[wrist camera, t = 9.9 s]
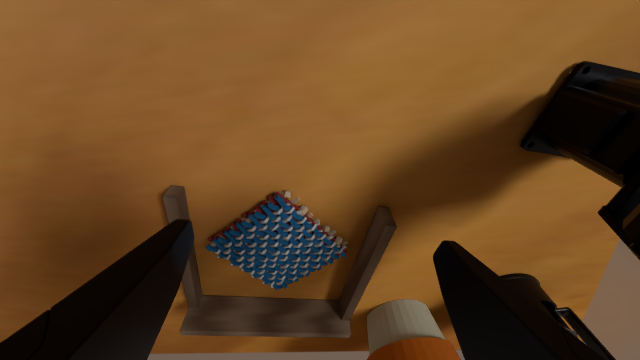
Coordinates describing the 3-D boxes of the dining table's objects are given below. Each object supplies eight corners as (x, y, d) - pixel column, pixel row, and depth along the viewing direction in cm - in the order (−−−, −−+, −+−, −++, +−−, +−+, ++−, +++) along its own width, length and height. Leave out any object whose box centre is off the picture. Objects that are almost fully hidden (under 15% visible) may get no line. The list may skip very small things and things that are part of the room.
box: (388, 207, 23) (402, 240, 20) (344, 304, 33) (349, 337, 30) (171, 185, 20) (145, 219, 17) (194, 299, 30) (181, 334, 27)
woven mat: (280, 279, 30) (278, 296, 28) (206, 235, 24) (199, 251, 23) (351, 241, 26) (354, 257, 25) (283, 180, 21) (282, 194, 19)
